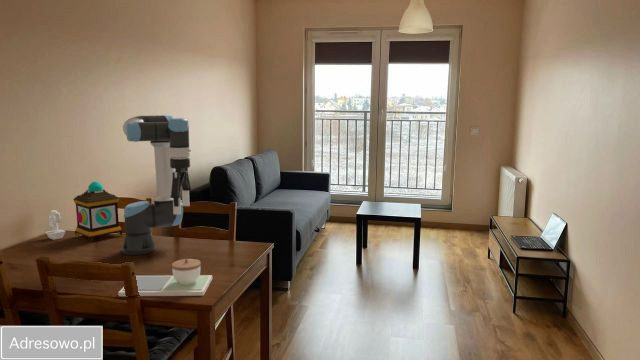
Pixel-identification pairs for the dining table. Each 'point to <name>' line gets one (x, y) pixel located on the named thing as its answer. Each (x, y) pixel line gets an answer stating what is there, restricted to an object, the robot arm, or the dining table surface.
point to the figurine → (55, 226)
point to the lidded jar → (186, 271)
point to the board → (169, 286)
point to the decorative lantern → (96, 212)
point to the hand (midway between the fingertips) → (181, 210)
